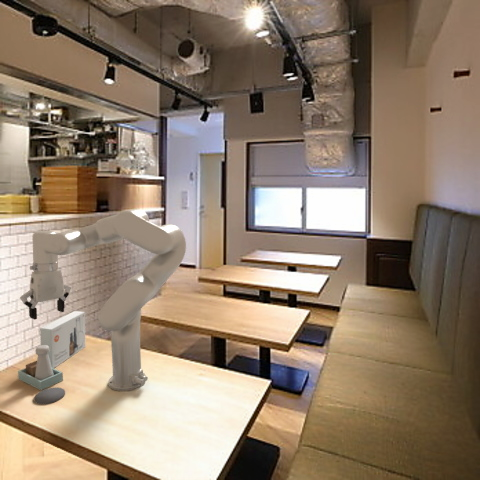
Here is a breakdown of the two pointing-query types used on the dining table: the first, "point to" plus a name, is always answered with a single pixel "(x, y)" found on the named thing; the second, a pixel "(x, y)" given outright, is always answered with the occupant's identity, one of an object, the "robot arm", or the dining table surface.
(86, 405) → the dining table surface
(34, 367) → the walnut block
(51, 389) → the coaster
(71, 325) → the skincare box
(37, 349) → the salt shaker
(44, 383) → the tray
